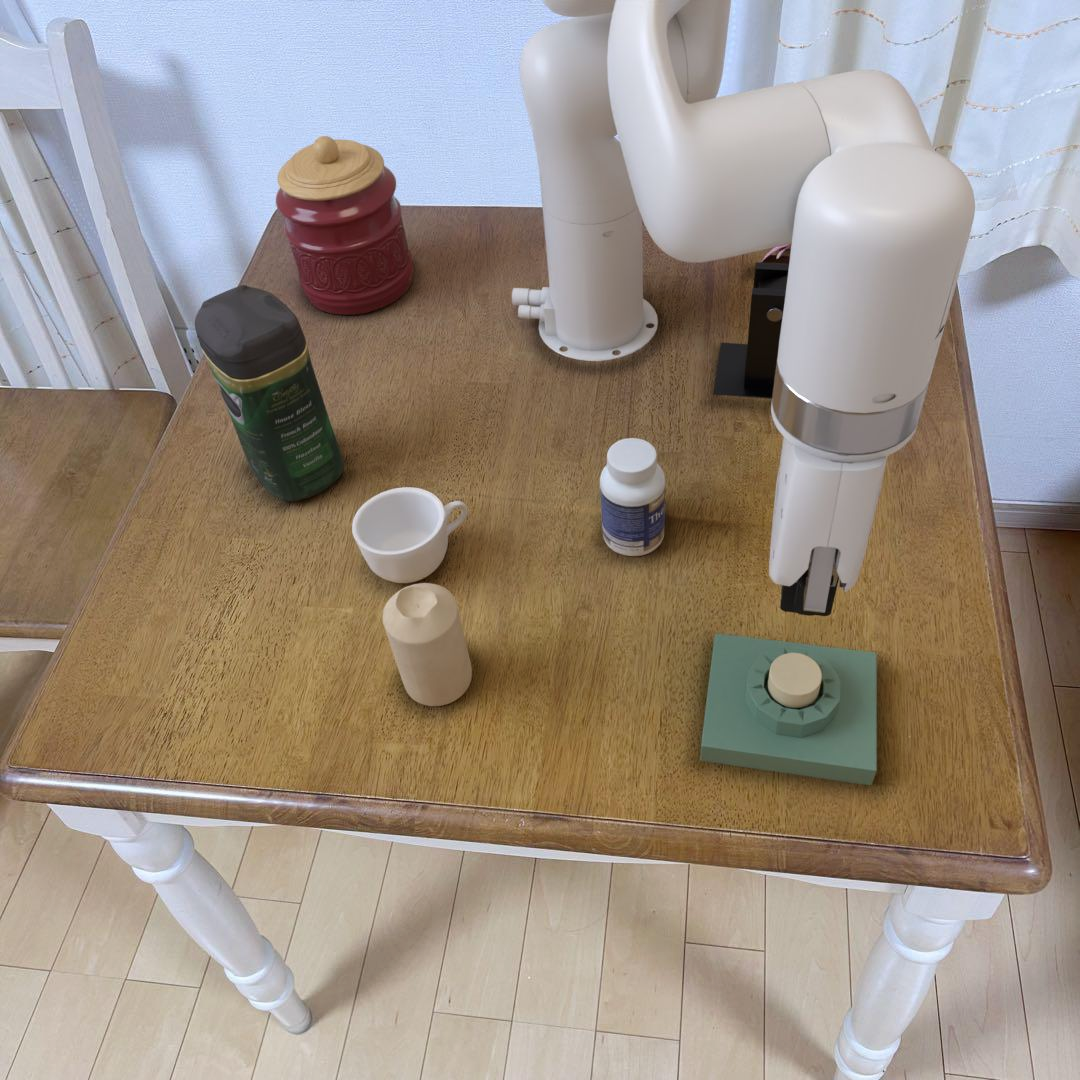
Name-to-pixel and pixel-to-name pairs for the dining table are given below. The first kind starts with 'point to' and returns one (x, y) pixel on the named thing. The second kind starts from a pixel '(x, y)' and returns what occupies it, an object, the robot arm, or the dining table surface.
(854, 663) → the button box
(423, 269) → the dining table surface
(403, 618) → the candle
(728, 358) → the bracket
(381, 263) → the kitchen canister
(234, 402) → the coffee jar
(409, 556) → the teacup
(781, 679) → the button
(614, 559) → the dining table surface
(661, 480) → the pill bottle
